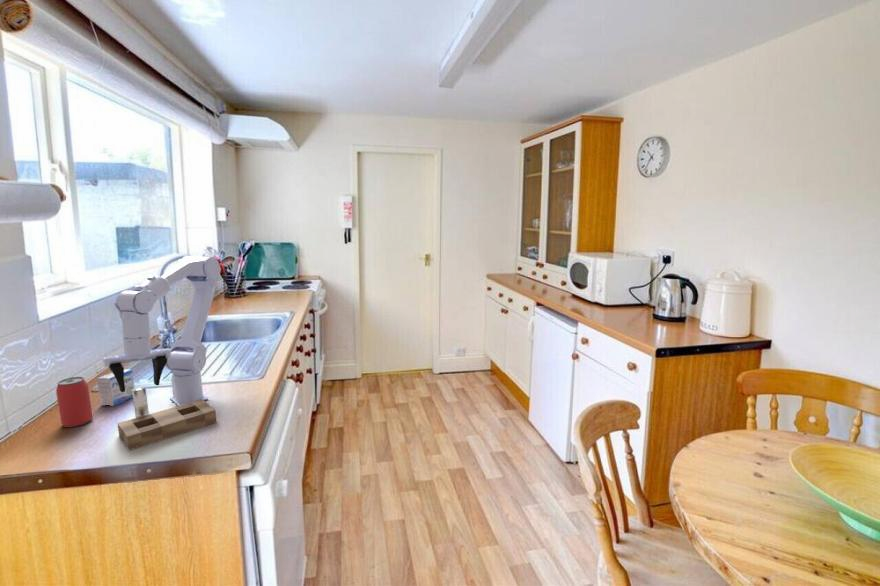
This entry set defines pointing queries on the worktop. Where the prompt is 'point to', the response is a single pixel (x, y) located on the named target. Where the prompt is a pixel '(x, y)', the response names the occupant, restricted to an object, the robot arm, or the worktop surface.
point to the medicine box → (115, 388)
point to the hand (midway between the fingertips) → (140, 387)
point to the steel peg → (140, 401)
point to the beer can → (74, 401)
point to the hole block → (165, 424)
